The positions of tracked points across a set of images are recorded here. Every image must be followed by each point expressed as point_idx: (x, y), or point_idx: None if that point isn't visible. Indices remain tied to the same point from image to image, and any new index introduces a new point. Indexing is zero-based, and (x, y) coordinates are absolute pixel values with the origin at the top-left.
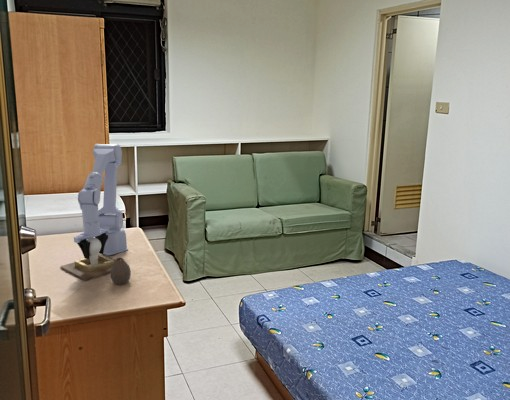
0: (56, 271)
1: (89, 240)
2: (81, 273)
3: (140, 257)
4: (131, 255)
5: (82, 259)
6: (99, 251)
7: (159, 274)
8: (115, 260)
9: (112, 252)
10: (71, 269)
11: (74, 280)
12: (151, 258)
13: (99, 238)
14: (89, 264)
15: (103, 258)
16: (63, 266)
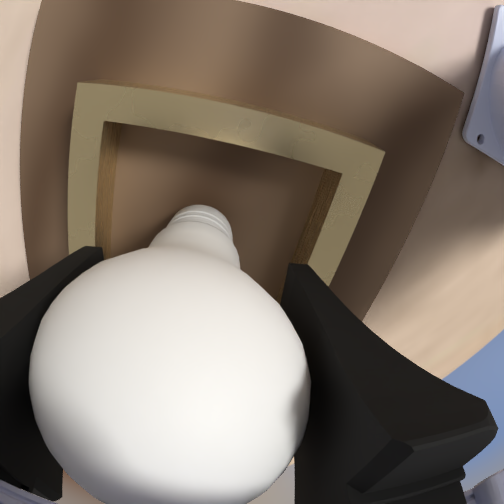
0: (5, 35)
1: (79, 484)
2: (52, 256)
3: (462, 325)
4: (488, 268)
5: (152, 113)
6: (289, 298)
7: (293, 457)
8: (371, 281)
9: (502, 147)
10: (41, 128)
11: (9, 264)
12: (450, 365)
13: (322, 475)
14: (200, 161)
15: (304, 262)
16: (50, 13)
